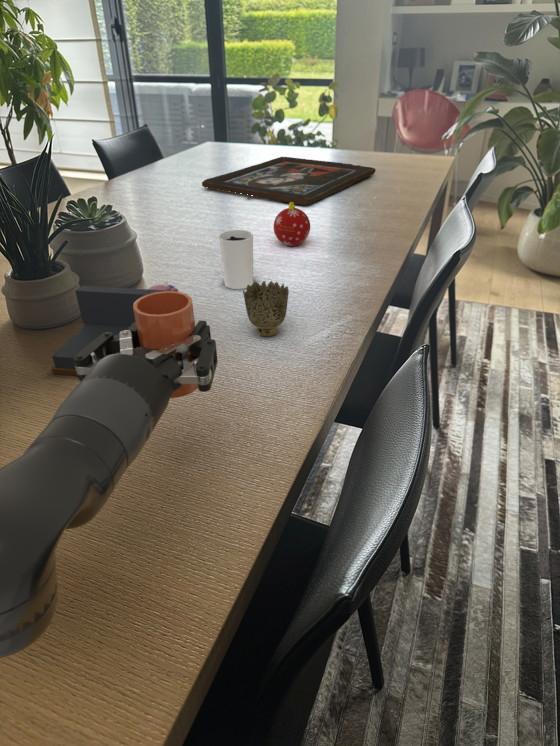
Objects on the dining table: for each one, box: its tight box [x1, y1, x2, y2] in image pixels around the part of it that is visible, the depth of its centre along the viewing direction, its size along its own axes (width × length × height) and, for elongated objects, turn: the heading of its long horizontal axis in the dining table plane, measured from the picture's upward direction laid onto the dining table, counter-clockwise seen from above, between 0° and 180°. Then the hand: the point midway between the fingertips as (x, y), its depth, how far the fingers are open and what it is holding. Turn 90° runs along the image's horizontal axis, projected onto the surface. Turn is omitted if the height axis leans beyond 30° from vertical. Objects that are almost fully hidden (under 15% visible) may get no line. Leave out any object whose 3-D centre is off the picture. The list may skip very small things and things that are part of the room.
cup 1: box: [133, 291, 198, 399], centre depth 60 cm, size 6×6×10 cm
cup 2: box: [242, 280, 290, 337], centre depth 91 cm, size 8×7×8 cm
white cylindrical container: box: [218, 229, 254, 290], centre depth 109 cm, size 7×7×10 cm
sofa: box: [51, 285, 167, 377], centre depth 86 cm, size 16×13×9 cm
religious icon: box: [201, 156, 377, 206], centre depth 179 cm, size 40×45×3 cm
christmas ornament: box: [273, 202, 311, 247], centre depth 128 cm, size 9×9×10 cm
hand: (175, 326), depth 61 cm, fingers closed on cup 1, 6 cm apart
